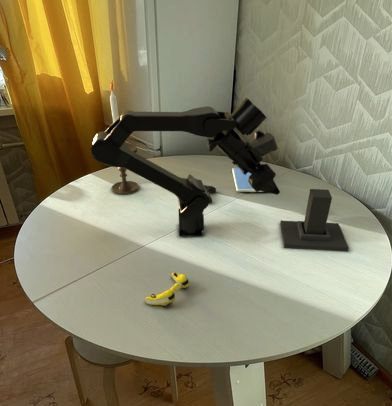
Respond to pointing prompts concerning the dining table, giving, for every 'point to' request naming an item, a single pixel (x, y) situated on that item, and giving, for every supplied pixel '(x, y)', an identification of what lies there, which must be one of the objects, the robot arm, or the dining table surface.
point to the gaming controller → (210, 191)
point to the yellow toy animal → (169, 291)
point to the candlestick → (130, 186)
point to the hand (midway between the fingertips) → (273, 185)
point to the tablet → (242, 181)
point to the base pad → (313, 237)
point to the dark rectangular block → (317, 211)
